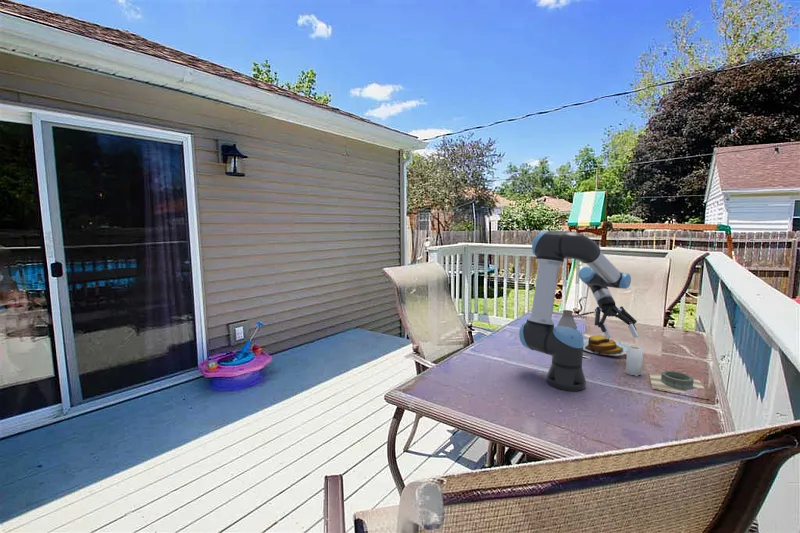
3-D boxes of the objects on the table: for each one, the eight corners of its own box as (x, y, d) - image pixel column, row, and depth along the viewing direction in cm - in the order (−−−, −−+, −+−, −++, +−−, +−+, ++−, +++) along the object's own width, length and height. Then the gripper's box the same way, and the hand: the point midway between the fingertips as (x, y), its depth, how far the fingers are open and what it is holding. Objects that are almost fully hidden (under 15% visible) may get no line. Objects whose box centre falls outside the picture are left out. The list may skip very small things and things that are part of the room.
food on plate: (634, 362, 178) (635, 349, 178) (578, 354, 189) (579, 342, 189) (628, 346, 201) (629, 335, 200) (578, 340, 212) (579, 329, 211)
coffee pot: (554, 331, 229) (555, 308, 228) (560, 327, 238) (561, 305, 236) (591, 338, 216) (593, 313, 214) (596, 333, 224) (597, 310, 223)
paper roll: (641, 377, 160) (643, 351, 159) (625, 374, 163) (627, 348, 162) (640, 372, 165) (642, 347, 164) (625, 369, 168) (627, 344, 167)
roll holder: (708, 400, 139) (709, 389, 139) (651, 389, 149) (652, 378, 148) (699, 382, 155) (700, 372, 154) (648, 373, 164) (649, 364, 163)
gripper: (623, 303, 189) (642, 340, 176) (577, 304, 187) (593, 341, 174) (631, 295, 183) (652, 333, 170) (584, 296, 181) (601, 334, 168)
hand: (622, 337), depth 172 cm, fingers open, 13 cm apart
